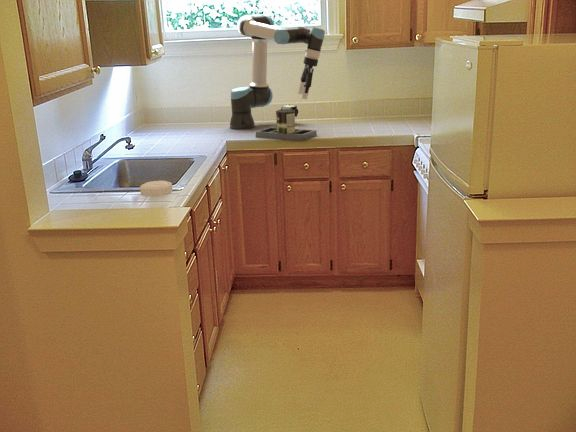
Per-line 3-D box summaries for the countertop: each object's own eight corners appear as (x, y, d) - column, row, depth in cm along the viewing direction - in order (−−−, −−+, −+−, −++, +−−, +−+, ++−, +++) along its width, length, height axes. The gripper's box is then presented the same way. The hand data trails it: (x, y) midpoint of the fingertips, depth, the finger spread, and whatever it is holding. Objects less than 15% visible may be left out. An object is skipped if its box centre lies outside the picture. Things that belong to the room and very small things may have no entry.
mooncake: (174, 187, 239) (173, 179, 238) (170, 196, 227) (169, 186, 226) (144, 189, 238) (142, 180, 237) (138, 197, 227) (137, 188, 226)
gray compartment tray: (255, 137, 336) (255, 131, 335) (270, 132, 348) (270, 127, 347) (303, 140, 321) (302, 135, 320) (316, 135, 333) (316, 130, 332)
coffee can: (277, 138, 329) (276, 112, 324) (276, 135, 339) (275, 109, 334) (296, 137, 330) (295, 111, 325) (294, 134, 340) (293, 109, 335)
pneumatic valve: (293, 125, 369) (292, 105, 365) (280, 123, 378) (280, 103, 374) (300, 124, 372) (299, 104, 369) (287, 122, 381) (286, 102, 377)
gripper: (301, 52, 337) (292, 90, 344) (308, 59, 314) (299, 99, 322) (314, 55, 339) (305, 93, 346) (322, 62, 316) (312, 102, 323)
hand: (302, 96), depth 334 cm, fingers open, 13 cm apart
